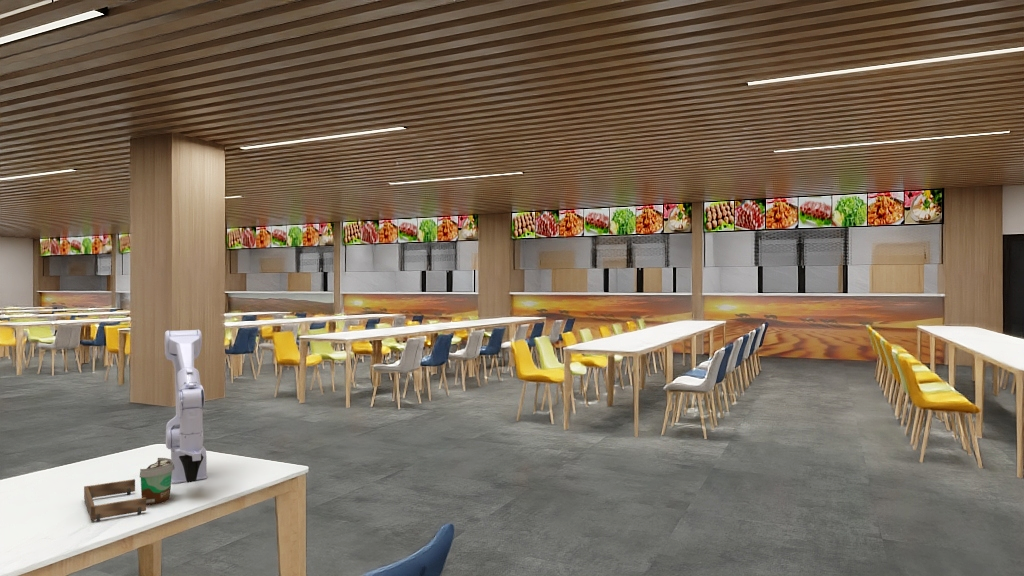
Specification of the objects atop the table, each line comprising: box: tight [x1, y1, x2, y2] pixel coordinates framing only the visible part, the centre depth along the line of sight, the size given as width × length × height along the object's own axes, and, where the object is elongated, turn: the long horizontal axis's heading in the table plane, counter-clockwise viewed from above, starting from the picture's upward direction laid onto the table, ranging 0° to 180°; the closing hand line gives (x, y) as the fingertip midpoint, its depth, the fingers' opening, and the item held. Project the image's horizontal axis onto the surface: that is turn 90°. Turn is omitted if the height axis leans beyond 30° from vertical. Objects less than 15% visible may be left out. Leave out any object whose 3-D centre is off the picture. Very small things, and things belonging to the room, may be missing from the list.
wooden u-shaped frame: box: [83, 478, 147, 522], centre depth 183 cm, size 12×21×4 cm, turn 36°
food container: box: [139, 457, 175, 507], centre depth 189 cm, size 12×6×10 cm, turn 6°
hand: (191, 481), depth 193 cm, fingers closed
